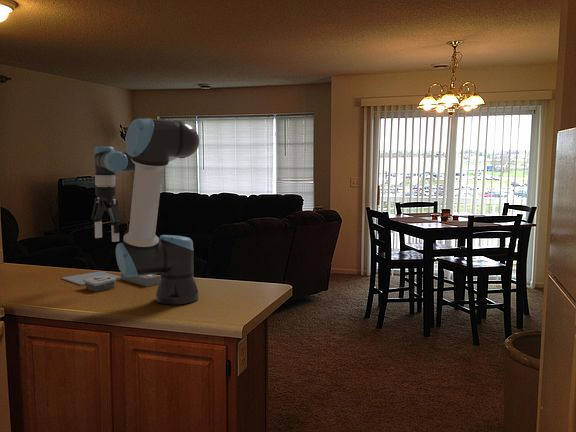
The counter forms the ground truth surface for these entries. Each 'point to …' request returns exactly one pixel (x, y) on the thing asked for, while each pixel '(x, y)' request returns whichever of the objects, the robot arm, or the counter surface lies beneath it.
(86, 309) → the counter surface
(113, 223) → the robot arm
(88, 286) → the electrical switch
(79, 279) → the mat
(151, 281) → the power strip
